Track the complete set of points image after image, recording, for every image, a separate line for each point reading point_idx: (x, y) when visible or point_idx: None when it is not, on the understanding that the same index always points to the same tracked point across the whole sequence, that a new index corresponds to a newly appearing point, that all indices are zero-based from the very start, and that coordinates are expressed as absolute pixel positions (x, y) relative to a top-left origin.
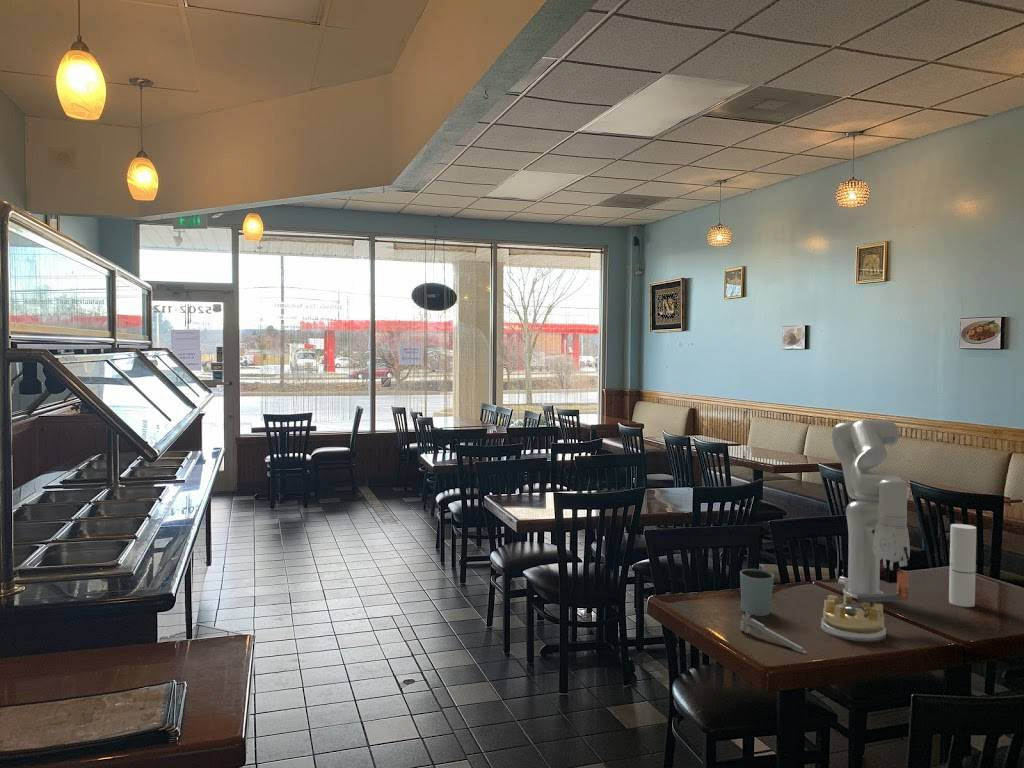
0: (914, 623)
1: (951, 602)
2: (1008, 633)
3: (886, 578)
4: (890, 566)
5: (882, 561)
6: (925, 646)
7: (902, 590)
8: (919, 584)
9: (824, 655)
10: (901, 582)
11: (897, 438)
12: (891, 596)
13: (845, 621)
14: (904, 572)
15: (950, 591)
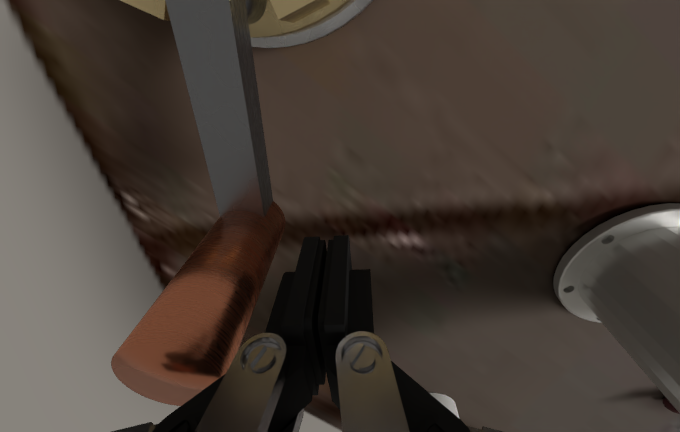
0: (321, 229)
1: (435, 396)
2: None
3: (332, 253)
4: (261, 373)
5: (442, 412)
6: (84, 104)
7: (204, 238)
8: (581, 421)
9: None
10: (178, 273)
11: None
12: (204, 143)
13: None
14: (124, 369)
15: None
